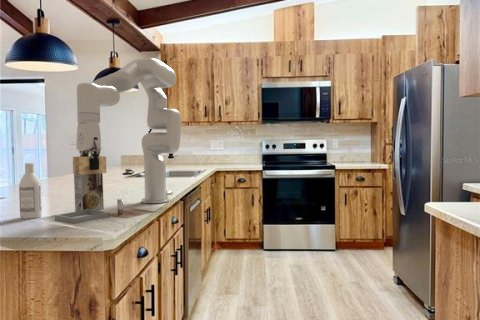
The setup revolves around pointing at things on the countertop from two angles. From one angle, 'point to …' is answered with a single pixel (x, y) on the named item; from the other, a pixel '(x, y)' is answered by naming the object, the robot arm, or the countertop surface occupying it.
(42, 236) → the countertop surface
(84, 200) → the coffee box
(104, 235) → the countertop surface
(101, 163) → the wooden block
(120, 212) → the stake
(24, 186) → the bath foam
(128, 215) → the board
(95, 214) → the tray
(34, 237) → the countertop surface
